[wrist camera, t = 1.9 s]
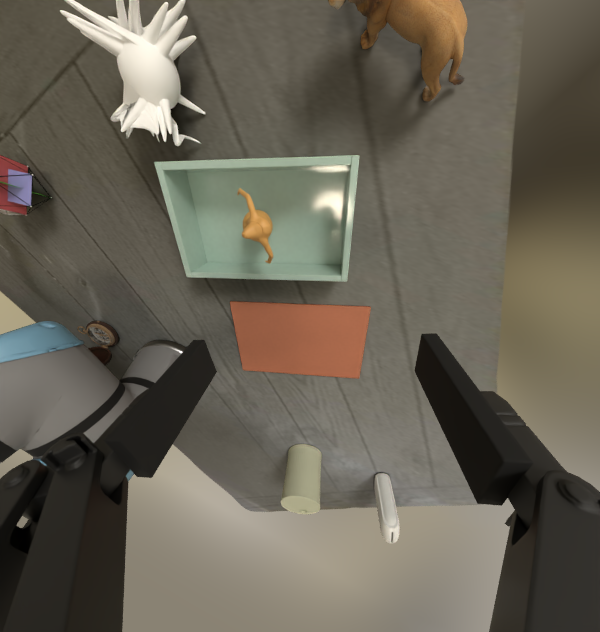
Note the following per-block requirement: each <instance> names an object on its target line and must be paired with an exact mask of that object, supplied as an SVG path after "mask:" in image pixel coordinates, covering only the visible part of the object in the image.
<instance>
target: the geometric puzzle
mask: <svg viewBox="0 0 600 632" xmlns="http://www.w3.org/2000/svg"><path fill="white" fill-rule="evenodd" d="M28 168H29V166H26V165H23V164H21V163H18V162H16V161H13V160H11V159H9V158H6V157H4V156H1V155H0V213H3V214H6V215H27V214H29V213H27V207H32V194H37V195H41V194H38V193H35V192H32V186H33V174H31V173H30V174H28V173H29V172H28ZM29 170H30V169H29ZM30 172H32V171H30ZM34 176H35V175H34ZM34 178H35V177H34ZM35 179H36V178H35ZM36 180H38V179H36ZM39 184H40V185H41V183H39ZM43 189H44V187H43ZM44 190H45V189H44ZM45 191H46V190H45ZM46 192H47V191H46ZM47 194H48V193H47ZM48 195H49V194H48ZM41 196H44V195H41ZM49 196H50V195H49ZM45 197H48V196H45ZM50 198H52V197H49V199H50ZM49 199H46V200H49ZM44 201H45V200H44ZM42 202H43V201H42ZM45 202H46V201H45ZM40 203H41V202H40ZM38 204H39V203H38ZM35 205H37V204H35ZM41 205H42V204H41ZM33 206H34V205H33ZM38 207H39V206H38ZM30 209H31V208H30ZM30 209H29V210H30ZM35 209H36V208H35ZM32 211H33V210H32ZM28 212H29V211H28Z"/></svg>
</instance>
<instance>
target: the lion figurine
mask: <svg viewBox="0 0 600 632" xmlns="http://www.w3.org/2000/svg"><path fill="white" fill-rule="evenodd" d="M328 1H329V4H330V5H331V6H332V7H334V8H335V9H339V8H340V7H341V6H342V5H343V3H344V2H345V1H346V0H328ZM348 1H349V2H353V3H355V4H356V6H357V9H358V11H360V12H361V13H362V14H363V15H364V16H366V17H367V30H365V32H364V34H362V36H361V45H362V49H368V48H369V47H371V46H372V45H373V44H374V43H375V41H376V40H377V38H378V33H379V31H380V30H381V29H382V28H384V27H385V25H386V23H387V22H388V23H389V24H390V26H391V27H392V28H393V29H394V30H395V31H396V32H397V33H398V34H399V35H401V36H402V37H403V38H405V39H406V40H408V41H410V42H412V43H417V44H419V45H420V46H421V48H422V59H421V70H422V76H423V79H424V81H425V83H426V85H427V87H425V88H424V90H423V94H422V97H423V100H424V101H430V100H432V99H433V98H434V97H435V96H436V95H437V94H438V92H439V91H440V89H441V85H440V83H439V75H440V72H441V71H442V69H443V68H444V67H445V65H446V64H447V63H448V61H449V59H453V63H452V66H451V70H450V73H449V81H450V82H452V83H453V84H454V85H456V84H461V83H462V82H463V81H464V77H463V76H461V75H459V74H456V72H457V70H458V68H459V65H460V63H461V59H462V55H463V49H464V41H463V39H464V37H465V34H466V30H467V18H466V14H465V12H464V9H463V6H462V4H461V2H460V1H459V0H348Z"/></svg>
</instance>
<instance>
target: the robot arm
mask: <svg viewBox="0 0 600 632" xmlns="http://www.w3.org/2000/svg"><path fill="white" fill-rule="evenodd" d="M216 372H217V371H216V369H215V366H214V364H213V361H212V359H211V356H210V353H209V351H208V348H207V346H206V343H205V341H204V340H193V341H192V342H191V343H190V345H189V346H188V347H187V348H186V347H184V346H182V345H180V344H178V343H175V342H172V341H167V340H155V341H151V342H149V343H147V344H146V345H144V346H143V347H142V348H141V349H140V350H138V351H137V353H136V354H135V356H134V358H133V362H132V364H131V365H130V366H129V368H128V369H127V371H126V373H125V374H124V376H123V378H122V379H121V380H120V381H119V380H118V379H117V378H116V377H115V376H114V375H113V374H112V373H111V372H110V371H109V369H108V368H107V367H106V366H105V365H104V364H103V363H102V362H101V361H100V360H99V359H98V358H97V357H96V356H95V355H94V354H93V353H92V352H91V351H90V350H89V349H88V348H87V347H86V346H85V345H84V341H82V340H79V339H78V338H77V337H76V336H74V335H73V334H72V333H71V332H70V331H69V330H68V329H67V328H66V327H65V326H63V325H62V324H60V323H57V322H53V321H43V322H38V323H35V324H32V325H28V326H25V327H22V328H19V329H16V330H13V331H10V332H7V333H4V334H1V335H0V463H1V462H3V461H4V460H5V459H7V458H8V457H10V456H11V455H12V454H13V453H15V452H16V451H17V450H19V449H22V450H24V451H25V452H27V453H29V454H30V455H32V456H33V459H32V460H30V461H27V462H25V463H22V464H20V465H18V466H17V467H15V468H13V469H12V470H10V471H9V472H8V473H7V474H5V475H4V476H3V477H2V478H1V479H0V632H122V622H123V597H124V573H125V549H126V547H125V546H126V523H127V522H126V521H127V500H128V481H129V480H130V479H131V477H132V476H133V475H134V474H135V475H136V476H137V477H149V478H151V477H153V475H154V473H155V472H156V470H157V468H158V467H159V465H160V463H161V462H162V460H163V459H164V457H165V455H166V454H167V452H168V450H169V449H170V447H171V446H172V444H173V442H174V441H175V439H176V437H177V436H178V434H179V433H180V431H181V429H182V428H183V426H184V424H185V423H186V421H187V419H188V418H189V416H190V415H191V413H192V411H193V410H194V408H195V406H196V405H197V403H198V402H199V400H200V398H201V397H202V395H203V393H204V392H205V390H206V388H207V387H208V385H209V384H210V382H211V380H212V379H213V377H214V375H215V374H216ZM415 373H416V375H417V377H418V379H419V381H420V383H421V385H422V388H423V390H424V392H425V394H426V396H427V398H428V400H429V402H430V404H431V406H432V409H433V411H434V413H435V415H436V417H437V419H438V421H439V423H440V425H441V428H442V430H443V432H444V434H445V436H446V438H447V440H448V442H449V444H450V447H451V449H452V451H453V453H454V455H455V457H456V459H457V461H458V463H459V465H460V468H461V470H462V472H463V474H464V476H465V478H466V480H467V482H468V484H469V487H470V489H471V491H472V493H473V495H474V497H475V499H476V501H477V503H478V504H491V505H502V504H503V503H504V502H505V500H506V499H507V498H509V500H510V502H511V504H512V505H513V507H514V509H515V511H514V512H513V513H512V515H511V516H510V517H509V518H508V520H507V521H506V523H505V524H506V525H507V526H510V530H509V536H508V540H507V545H506V550H505V555H504V560H503V565H502V570H501V576H500V580H499V585H498V590H497V595H496V601H495V605H494V610H493V615H492V621H491V625H490V631H489V632H600V492H599V491H598V490H597V489H595V488H594V487H593V486H592V485H591V484H589V483H588V482H586V481H584V480H583V479H581V478H580V477H578V476H575V475H573V474H571V473H568V472H567V471H566V470H565V469H564V468H563V467H562V466H561V465H560V464H559V463H558V461H557V460H556V459H555V458H554V457H553V456H552V454H551V453H550V452H549V451H548V450H547V449H546V447H545V446H544V445H543V444H542V443H541V441H540V440H539V439H538V438H537V436H536V435H535V434H534V433H533V432H532V431H531V429H530V428H529V427H528V426H526V424H525V422H524V421H523V420H522V419H521V417H520V416H518V415H517V413H516V412H515V410H514V409H513V408H512V407H511V406H510V404H509V403H508V402H507V401H506V400H504V399H503V398H501V397H500V396H499V395H497V394H496V393H495V392H492V391H479V389H478V388H477V387H476V385H475V384H474V383H473V381H472V380H471V379H470V377H469V376H468V375H467V373H466V372H465V371H464V369H463V368H462V367H461V365H460V364H459V363H458V361H457V360H456V359H455V357H454V356H453V355H452V353H451V352H450V351H449V349H448V348H447V347H446V345H445V344H444V343H443V341H442V340H441V339H440V337H439V336H438V335H437V334H422V335H421V340H420V345H419V351H418V356H417V361H416V366H415ZM21 516H24V517H26V518H27V519H29V520H28V521H27V523H26V524H25V526H24V527H23V528H19V527H17V526H16V525H17V523H18V521H19V519H20V518H21Z"/></svg>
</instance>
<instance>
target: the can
mask: <svg viewBox="0 0 600 632" xmlns="http://www.w3.org/2000/svg"><path fill="white" fill-rule="evenodd" d="M321 458H322V454H321V452H320V451H319V450H318V449H317V448H315V447H313V446H311V445H306V444H298V445H294V446H292V447H291V448H290V449H289V451H288V461H287V468H286V474H285V481H284V487H283V493H282V498H281V505H282V506H283V507H284V508H285V509H287V510H289V511H291V512H294V513H299V514H313V513H316V512H318V511H319V510H320V476H321Z"/></svg>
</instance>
